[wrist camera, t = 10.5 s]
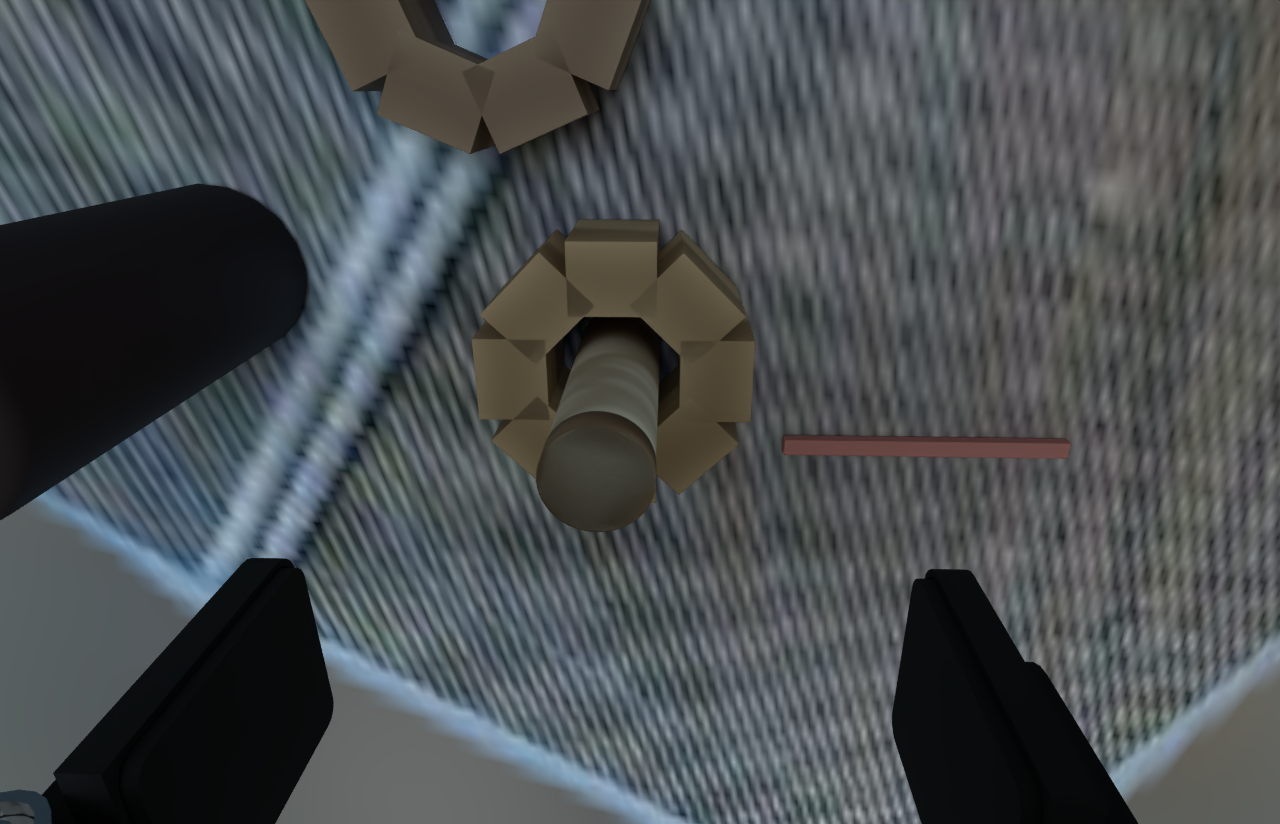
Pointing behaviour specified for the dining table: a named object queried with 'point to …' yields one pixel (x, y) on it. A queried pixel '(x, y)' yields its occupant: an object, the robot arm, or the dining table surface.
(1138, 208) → the dining table surface
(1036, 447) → the reddish brown square stick
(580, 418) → the dowel
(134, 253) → the bottle
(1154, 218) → the dining table surface
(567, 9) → the bead
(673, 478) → the bead
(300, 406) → the dining table surface
